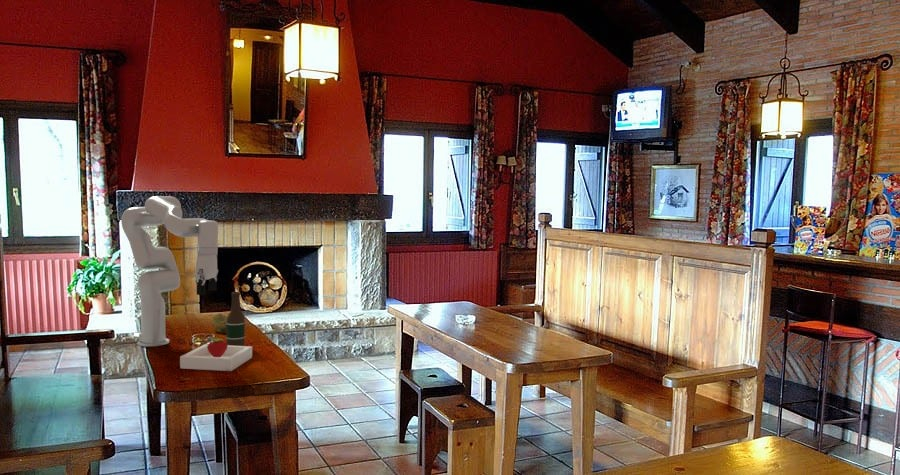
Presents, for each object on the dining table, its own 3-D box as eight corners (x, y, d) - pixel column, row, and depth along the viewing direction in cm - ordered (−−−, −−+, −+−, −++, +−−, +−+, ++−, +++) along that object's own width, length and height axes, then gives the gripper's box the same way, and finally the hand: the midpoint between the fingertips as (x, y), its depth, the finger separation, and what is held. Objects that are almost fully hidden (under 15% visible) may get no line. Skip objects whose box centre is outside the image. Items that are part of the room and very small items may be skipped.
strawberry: (229, 360, 255) (229, 335, 254) (209, 362, 251) (208, 337, 251) (225, 356, 260) (225, 332, 259) (206, 359, 256) (205, 334, 256)
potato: (214, 335, 301) (214, 318, 301) (211, 329, 313) (211, 312, 312) (232, 333, 305) (232, 316, 304) (229, 328, 317) (229, 311, 316)
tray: (180, 368, 246) (180, 356, 246) (204, 355, 266) (204, 344, 266) (231, 371, 245) (231, 359, 244) (252, 357, 264) (252, 346, 264)
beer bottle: (239, 350, 275) (239, 294, 273) (222, 349, 276) (222, 293, 275) (248, 346, 283) (248, 291, 281) (232, 344, 284) (232, 290, 282)
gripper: (209, 248, 271) (207, 288, 273) (187, 252, 254) (186, 295, 256) (226, 249, 271) (225, 289, 272) (206, 254, 254) (205, 297, 255)
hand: (206, 292), depth 264 cm, fingers open, 9 cm apart
